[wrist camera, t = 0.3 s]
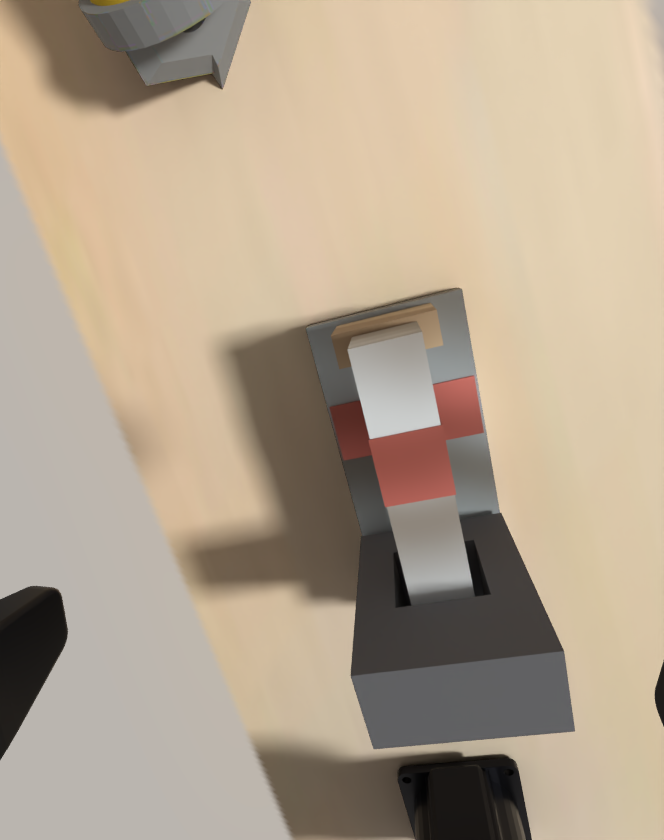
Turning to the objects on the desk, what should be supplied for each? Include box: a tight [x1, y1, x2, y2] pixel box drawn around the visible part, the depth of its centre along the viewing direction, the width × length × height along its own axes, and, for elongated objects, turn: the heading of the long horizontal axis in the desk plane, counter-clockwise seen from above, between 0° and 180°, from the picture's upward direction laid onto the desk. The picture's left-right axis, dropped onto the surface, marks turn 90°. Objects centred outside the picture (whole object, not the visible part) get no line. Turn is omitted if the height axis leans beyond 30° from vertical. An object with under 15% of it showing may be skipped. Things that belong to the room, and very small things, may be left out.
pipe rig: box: [306, 288, 500, 606], centre depth 18 cm, size 14×6×5 cm, turn 15°
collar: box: [351, 513, 575, 749], centre depth 18 cm, size 3×6×7 cm, turn 105°
